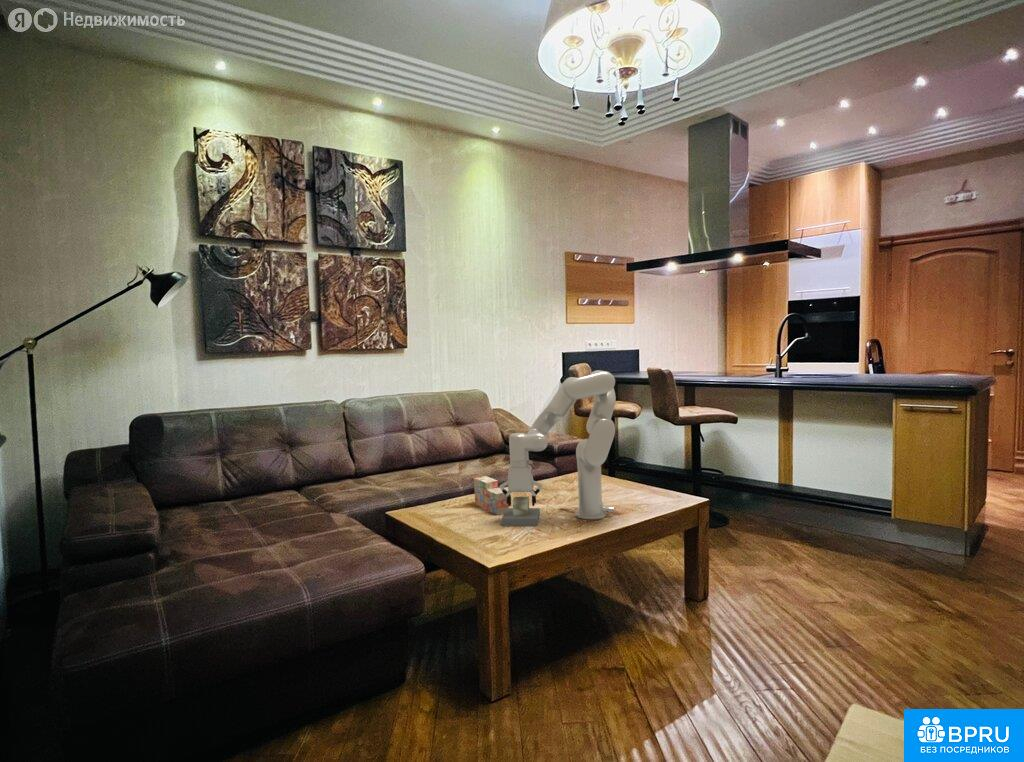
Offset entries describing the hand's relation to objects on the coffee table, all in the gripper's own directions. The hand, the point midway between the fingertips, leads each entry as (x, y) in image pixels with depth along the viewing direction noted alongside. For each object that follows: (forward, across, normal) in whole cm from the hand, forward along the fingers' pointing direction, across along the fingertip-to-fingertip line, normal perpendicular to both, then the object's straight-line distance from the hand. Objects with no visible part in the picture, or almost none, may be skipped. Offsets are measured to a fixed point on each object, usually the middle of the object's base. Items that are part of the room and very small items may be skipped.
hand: (521, 505), depth 222 cm
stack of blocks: (+6, +16, -17) cm, 24 cm away
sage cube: (+3, 0, 0) cm, 3 cm away
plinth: (+6, 0, 0) cm, 6 cm away
